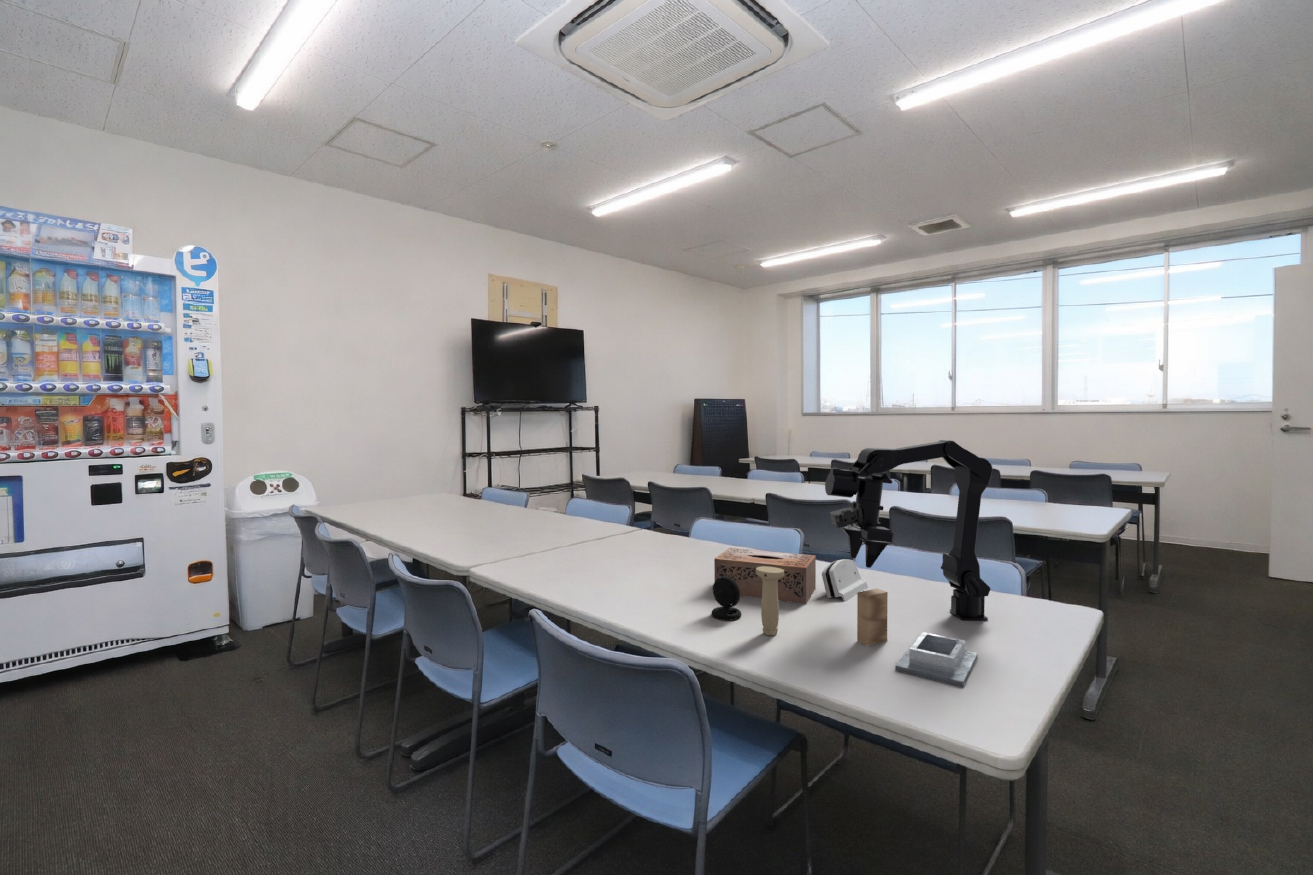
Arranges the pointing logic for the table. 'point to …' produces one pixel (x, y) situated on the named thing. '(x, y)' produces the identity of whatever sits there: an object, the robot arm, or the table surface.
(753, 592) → the tissue box cover
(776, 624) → the handle
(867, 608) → the tan tall block
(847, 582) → the hinge
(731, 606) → the webcam
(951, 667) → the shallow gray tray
